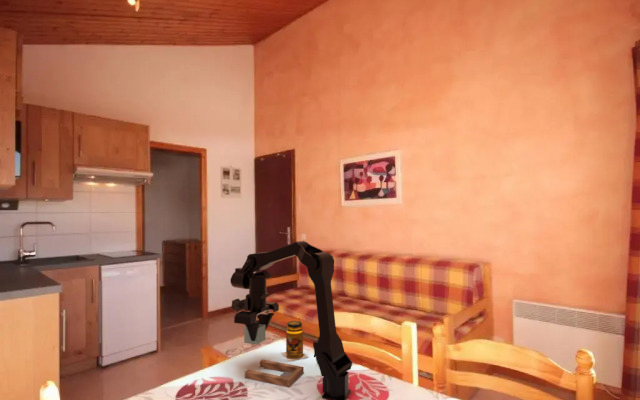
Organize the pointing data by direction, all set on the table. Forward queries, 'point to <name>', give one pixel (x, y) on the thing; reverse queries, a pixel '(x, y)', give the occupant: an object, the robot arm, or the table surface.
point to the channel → (276, 379)
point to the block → (259, 337)
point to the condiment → (294, 341)
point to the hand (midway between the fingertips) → (257, 338)
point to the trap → (285, 374)
